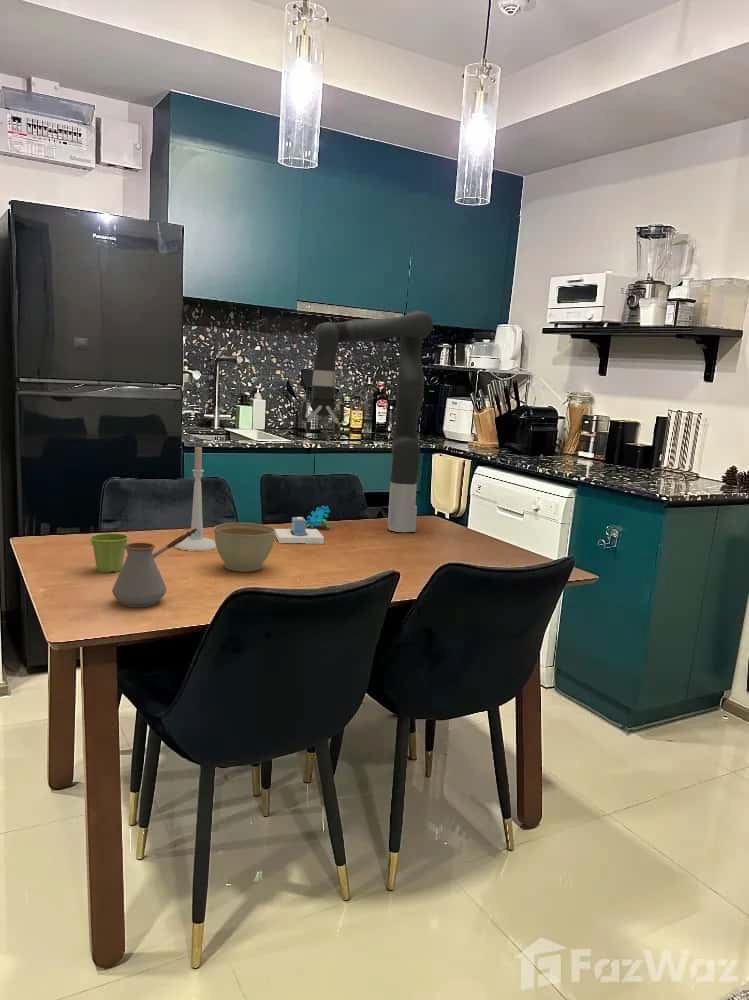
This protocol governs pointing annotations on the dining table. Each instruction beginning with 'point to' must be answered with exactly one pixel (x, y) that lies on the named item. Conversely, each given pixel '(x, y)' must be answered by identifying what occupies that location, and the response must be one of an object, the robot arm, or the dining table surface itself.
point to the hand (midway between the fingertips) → (321, 434)
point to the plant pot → (109, 551)
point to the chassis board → (311, 536)
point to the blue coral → (318, 517)
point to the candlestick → (197, 512)
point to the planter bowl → (243, 545)
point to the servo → (298, 526)
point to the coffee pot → (142, 575)
